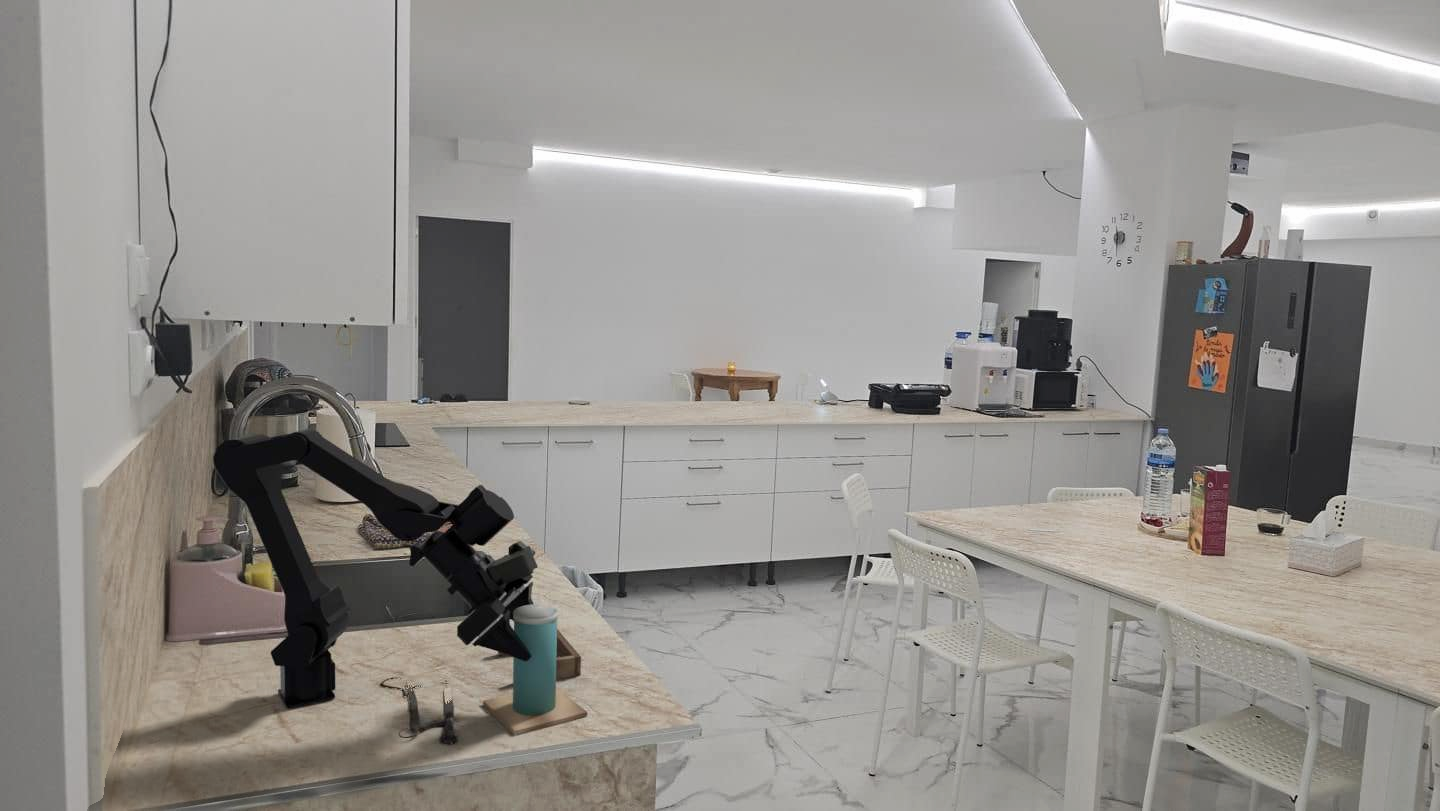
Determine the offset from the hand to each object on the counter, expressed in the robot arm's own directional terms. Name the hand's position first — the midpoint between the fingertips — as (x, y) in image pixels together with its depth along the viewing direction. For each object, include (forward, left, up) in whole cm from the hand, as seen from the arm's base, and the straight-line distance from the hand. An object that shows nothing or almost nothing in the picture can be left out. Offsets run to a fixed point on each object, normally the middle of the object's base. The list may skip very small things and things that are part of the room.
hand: (537, 646), depth 130 cm
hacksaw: (-14, +9, -10) cm, 20 cm away
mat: (0, 0, -9) cm, 9 cm away
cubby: (+6, +15, -9) cm, 19 cm away
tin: (0, 0, -9) cm, 9 cm away
